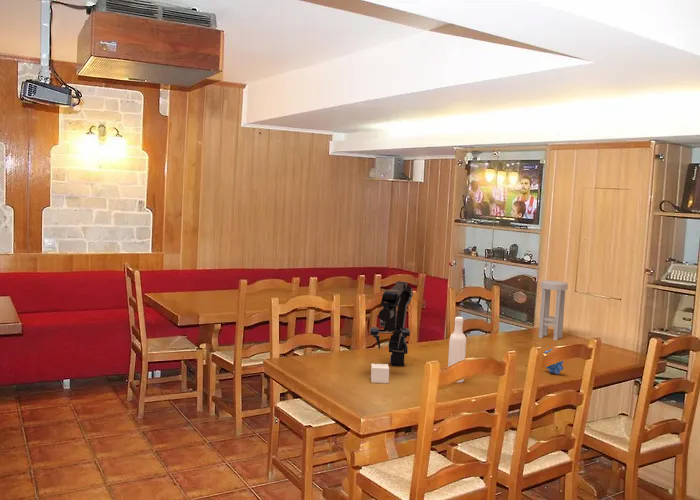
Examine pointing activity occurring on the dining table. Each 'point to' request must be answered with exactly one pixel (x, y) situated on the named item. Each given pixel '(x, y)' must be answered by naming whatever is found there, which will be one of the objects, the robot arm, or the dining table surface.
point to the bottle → (457, 344)
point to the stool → (559, 311)
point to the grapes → (555, 366)
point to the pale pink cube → (379, 373)
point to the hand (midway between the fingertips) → (388, 349)
